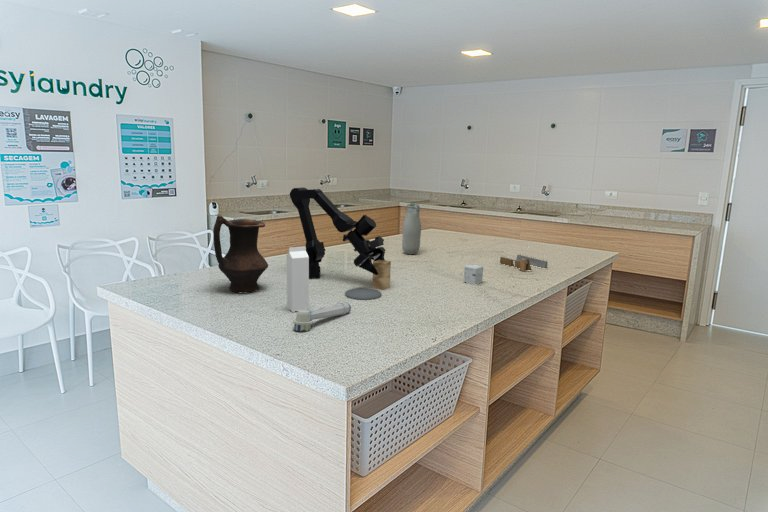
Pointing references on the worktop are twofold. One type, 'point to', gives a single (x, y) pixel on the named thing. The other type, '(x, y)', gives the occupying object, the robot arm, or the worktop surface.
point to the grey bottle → (411, 229)
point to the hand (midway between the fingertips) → (382, 272)
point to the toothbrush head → (319, 315)
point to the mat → (363, 294)
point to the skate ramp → (524, 262)
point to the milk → (297, 279)
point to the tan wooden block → (381, 275)
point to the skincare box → (473, 274)
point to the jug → (240, 253)
